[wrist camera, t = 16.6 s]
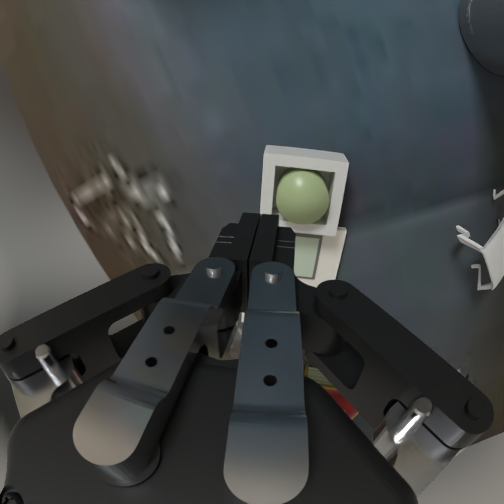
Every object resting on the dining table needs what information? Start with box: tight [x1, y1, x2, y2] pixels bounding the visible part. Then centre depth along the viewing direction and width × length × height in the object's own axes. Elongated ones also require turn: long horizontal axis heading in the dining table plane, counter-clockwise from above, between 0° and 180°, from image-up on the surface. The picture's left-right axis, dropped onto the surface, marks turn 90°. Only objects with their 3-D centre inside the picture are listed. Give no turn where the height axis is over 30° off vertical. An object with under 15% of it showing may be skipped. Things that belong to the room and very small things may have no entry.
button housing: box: [260, 145, 349, 236], centre depth 27 cm, size 7×7×3 cm
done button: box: [276, 167, 329, 225], centre depth 26 cm, size 4×4×3 cm
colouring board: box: [242, 227, 347, 322], centre depth 34 cm, size 10×14×1 cm
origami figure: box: [456, 189, 504, 290], centre depth 26 cm, size 12×8×5 cm
